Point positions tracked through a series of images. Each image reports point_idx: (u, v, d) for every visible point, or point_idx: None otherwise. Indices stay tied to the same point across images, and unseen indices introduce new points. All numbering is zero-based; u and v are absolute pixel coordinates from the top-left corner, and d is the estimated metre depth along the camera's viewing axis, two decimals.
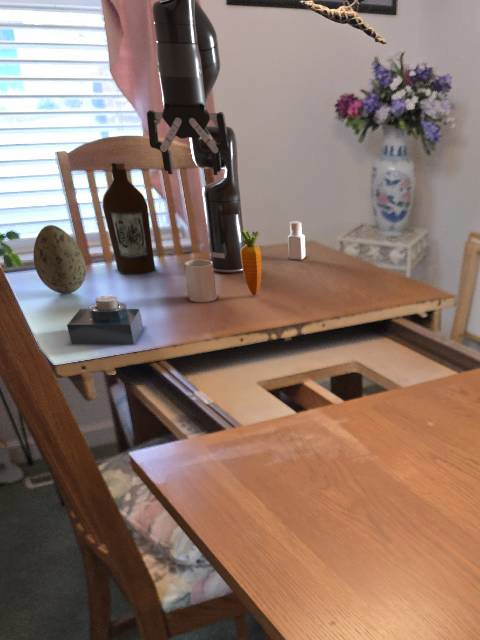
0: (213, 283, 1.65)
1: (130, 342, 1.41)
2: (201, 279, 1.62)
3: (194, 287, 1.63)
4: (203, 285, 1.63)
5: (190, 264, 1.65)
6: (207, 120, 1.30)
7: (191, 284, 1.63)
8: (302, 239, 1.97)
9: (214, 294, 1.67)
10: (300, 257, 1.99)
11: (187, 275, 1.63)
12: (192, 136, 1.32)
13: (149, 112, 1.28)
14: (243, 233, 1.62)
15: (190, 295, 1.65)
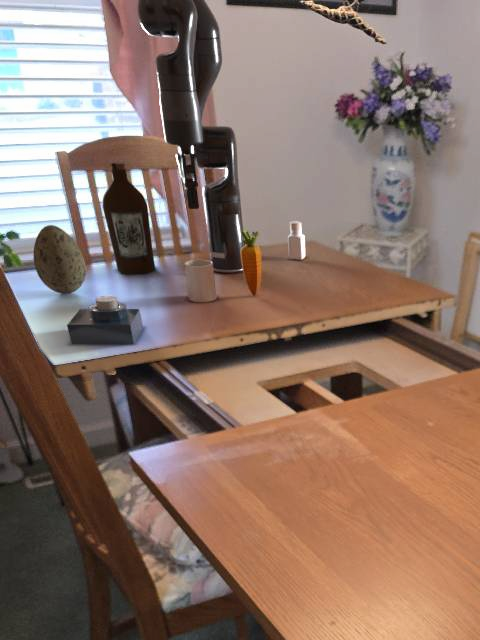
0: (213, 283, 1.65)
1: (130, 342, 1.41)
2: (201, 279, 1.62)
3: (194, 287, 1.63)
4: (203, 285, 1.63)
5: (190, 264, 1.65)
6: None
7: (191, 284, 1.63)
8: (302, 239, 1.97)
9: (214, 294, 1.67)
10: (300, 257, 1.99)
11: (187, 275, 1.63)
12: None
13: None
14: (243, 233, 1.62)
15: (190, 295, 1.65)
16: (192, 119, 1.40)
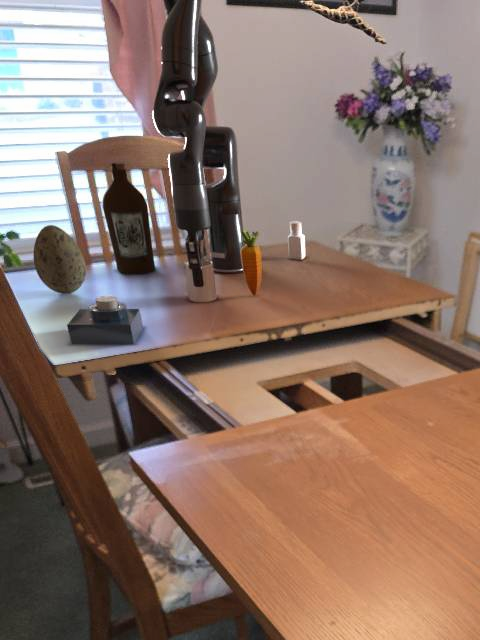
0: (213, 283, 1.65)
1: (130, 342, 1.41)
2: None
3: (194, 287, 1.63)
4: None
5: None
6: None
7: (191, 284, 1.63)
8: (302, 239, 1.97)
9: (214, 294, 1.67)
10: (300, 257, 1.99)
11: (187, 275, 1.63)
12: None
13: None
14: (243, 233, 1.62)
15: (190, 295, 1.65)
16: (198, 208, 1.54)
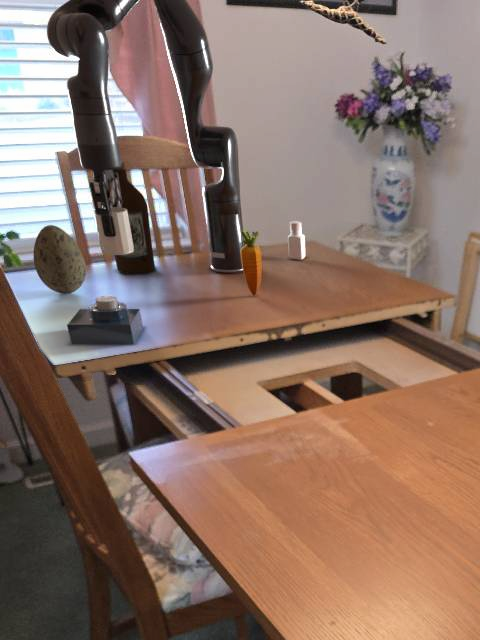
0: (128, 233, 1.46)
1: (130, 342, 1.41)
2: None
3: (105, 237, 1.44)
4: (116, 235, 1.44)
5: None
6: None
7: (102, 234, 1.44)
8: (302, 239, 1.97)
9: (130, 246, 1.47)
10: (300, 257, 1.99)
11: (97, 223, 1.43)
12: None
13: None
14: (243, 233, 1.62)
15: (102, 247, 1.45)
16: (104, 143, 1.34)
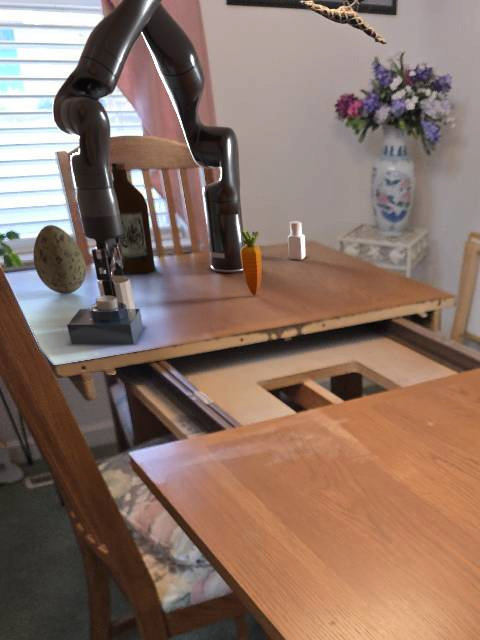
0: (131, 301, 1.52)
1: (130, 342, 1.41)
2: (116, 297, 1.49)
3: None
4: None
5: None
6: None
7: None
8: (302, 239, 1.97)
9: None
10: (300, 257, 1.99)
11: (101, 293, 1.49)
12: None
13: None
14: (243, 233, 1.62)
15: None
16: (106, 215, 1.40)
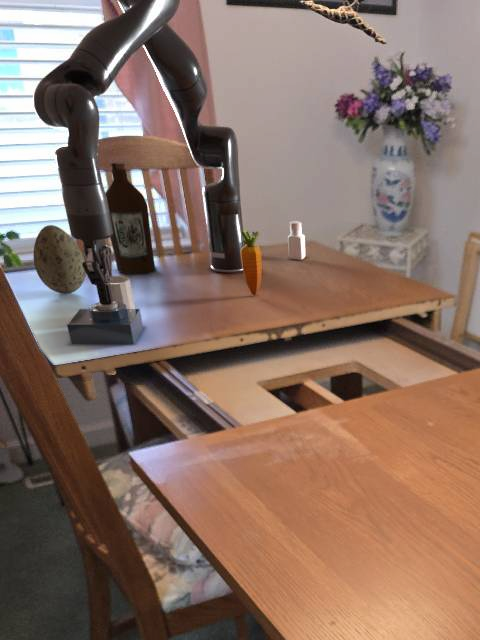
0: (131, 301, 1.52)
1: (130, 342, 1.41)
2: (116, 297, 1.49)
3: None
4: None
5: None
6: (85, 254, 1.32)
7: None
8: (302, 239, 1.97)
9: None
10: (300, 257, 1.99)
11: None
12: None
13: None
14: (243, 233, 1.62)
15: None
16: (94, 214, 1.29)
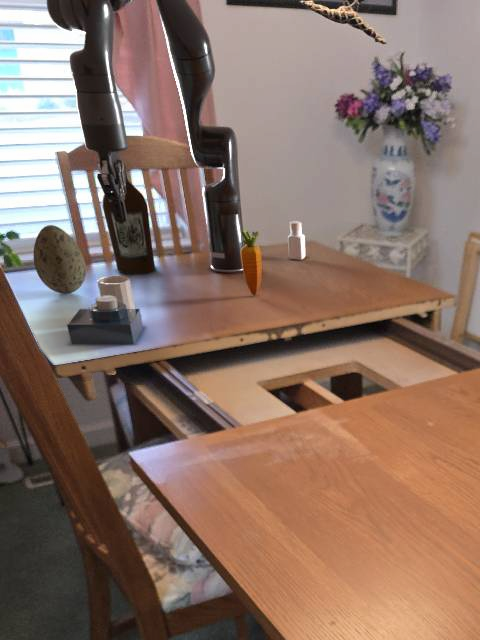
0: (131, 301, 1.52)
1: (130, 342, 1.41)
2: (116, 297, 1.49)
3: None
4: None
5: (105, 281, 1.52)
6: (100, 166, 1.31)
7: None
8: (302, 239, 1.97)
9: None
10: (300, 257, 1.99)
11: (101, 293, 1.49)
12: None
13: None
14: (243, 233, 1.62)
15: None
16: (109, 123, 1.27)
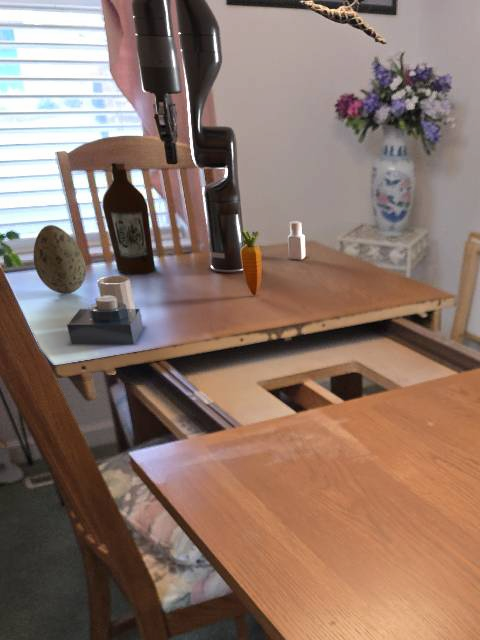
0: (131, 301, 1.52)
1: (130, 342, 1.41)
2: (116, 297, 1.49)
3: None
4: None
5: (105, 281, 1.52)
6: (156, 108, 1.38)
7: None
8: (302, 239, 1.97)
9: None
10: (300, 257, 1.99)
11: (101, 293, 1.49)
12: None
13: None
14: (243, 233, 1.62)
15: None
16: (166, 66, 1.35)
